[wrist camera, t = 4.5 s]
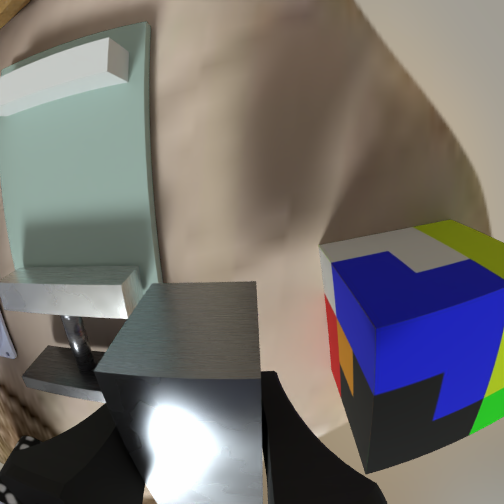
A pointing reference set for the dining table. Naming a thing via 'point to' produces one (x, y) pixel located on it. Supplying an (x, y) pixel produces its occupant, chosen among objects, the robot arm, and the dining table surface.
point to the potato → (10, 9)
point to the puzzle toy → (416, 337)
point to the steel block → (190, 392)
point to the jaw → (71, 318)
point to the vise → (81, 155)
